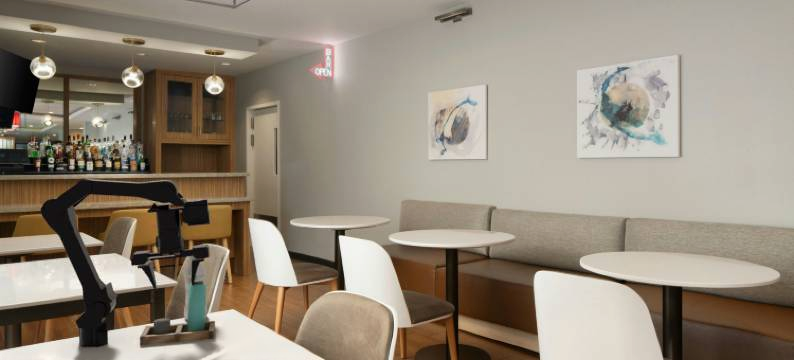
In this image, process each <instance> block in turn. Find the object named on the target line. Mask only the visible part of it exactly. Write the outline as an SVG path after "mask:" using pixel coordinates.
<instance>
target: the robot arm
mask: <svg viewBox="0 0 794 360" xmlns="http://www.w3.org/2000/svg"><path fill="white" fill-rule="evenodd" d="M90 195H94V196H97V195H98V196H112V197H113V196H114V197H129V198H130V197H132V198H140V199H141V198H142V199H143V200H144V199H145V200H147V201H151V202H152V205H151V207H150V208H149V209H147V213H148V214H149V213H153V214H154V213H155V214H156V215H155V216H156V218H155V219H156V225H157V226H156V228H157V236H155V248H156V249H158V251H159V252H151V250H150V249H149V250H138V251H135V252H134V253H133V254H132V255H131V257H130V263H131V266H132V267H133V266H136V267H137V269H141V270H142V271H143V273H144V274H145V275H146V276H147V279H148V280H149V282H150V284H151V285H152V287H153V290H154V291H157V289H158V286H157V280H156V275H155V270H154V269H155V268H154V262H153V261H157V260H169V259H175V258H178V259H179V258H185V257H187V258H188V256H193V257H194V258H193V260H192V275H191V282H192V285H194V281H195V277H196V273H197V269H198V266H199V263H200V262H205V260H206V259H208V258H210V255H211V251H210V246H209V245H208V244H200V245H193V247H192V248H190V249H189V248H188V249H185V240H184V238H183V235H182V224H181V223H183V224H187V227H197V226H205V225H206V226H207V225H211V213H210V208H209V203H208V201H209V200H208V199H207V198H204V199H203V198H202V199H198V200H197V199H196V200H187V199H186V197H184V196H183V195H182V194H181V193H180V191H179V186H178V185H177V183H176V182H175V181H174V180H171V179H162V180H152V181H143V182H138V181H121V180H120V181H119V180H106V179H105V180H104V179H94V178H93V179H92V178H82V179H80V180H78V181H77V182H76V183H75V184H74V185H73V186H71V187H70V188H69V189H67V190H66V191H64V192H63V193H61V194H60V195H58V196H57V197H54V198H49V199H47V200H46V201H45V202H43V204H42V205H41V208H40V214H41V217H42V218H43V220H44V221H45V222H46V224H47V225H48V226H49V228H50V229H52V231H53V232H54V233H55V234H56V235H57V236H58V237H59V240H60V242H61V243H62V246H63V248H64V251H65V252H66V254H67V257H68V260H69V261H70V263H71V266H72V268H73V269H74V272H75V274H76V277H77V278H78V281H79V284H80V286H81V289H82V299H83V305H84V309H85V310H84V311H83V312H82V313H81V314H80V316H78V317H77V319H75V324H76V326H77V327H78V338H79V340H78V341H79V342H78V344H79V345H80V346H81V347H82V348H100V347H103V346H106V345H108V344H109V329H108V322H106V320H105V319H106V318H107V317H108V316H109V315H110V313H111V312H112V311H113V310H114V309H115V307H116V305H117V297H118V294H117V293H116V292H115V290H114V288H113V284H112V281H111V282H108V283H106V284H105V282H104V281H103V280H102V279H101V278H100V275H99V273H98V271H97V269H96V266H95V265H94V263H93V262H94V261H93V259H92V258H91V256H90V253H89V251H88V249H87V247H86V245H85V242H84V240H83V237H82V236H81V234H80V231H79V229H78V218H77V212H76V207H77V206H78V205H80V204H81V203H82V202H83V201H85V200H86V198H87V197H89V196H90ZM157 203H161V204H157ZM168 203H169V204H168ZM171 205H172V206H175V207H171ZM180 211H181V213H180ZM181 217H182V222H181Z"/></svg>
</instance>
